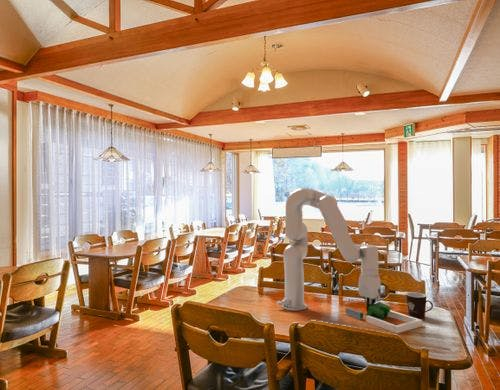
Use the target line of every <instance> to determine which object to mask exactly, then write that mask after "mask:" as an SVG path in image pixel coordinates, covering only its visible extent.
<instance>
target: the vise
mask: <svg viewBox="0 0 500 390" xmlns="http://www.w3.org/2000/svg"><path fill="white" fill-rule="evenodd" d="M386 305H387V304H386ZM387 306H389V307H391V305H387ZM345 315H346V316H349V317H351V318H354V319H357V320H358V321H362V320H364V312H363V311H360V310H357V309H355V308H352V307H345Z"/></svg>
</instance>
